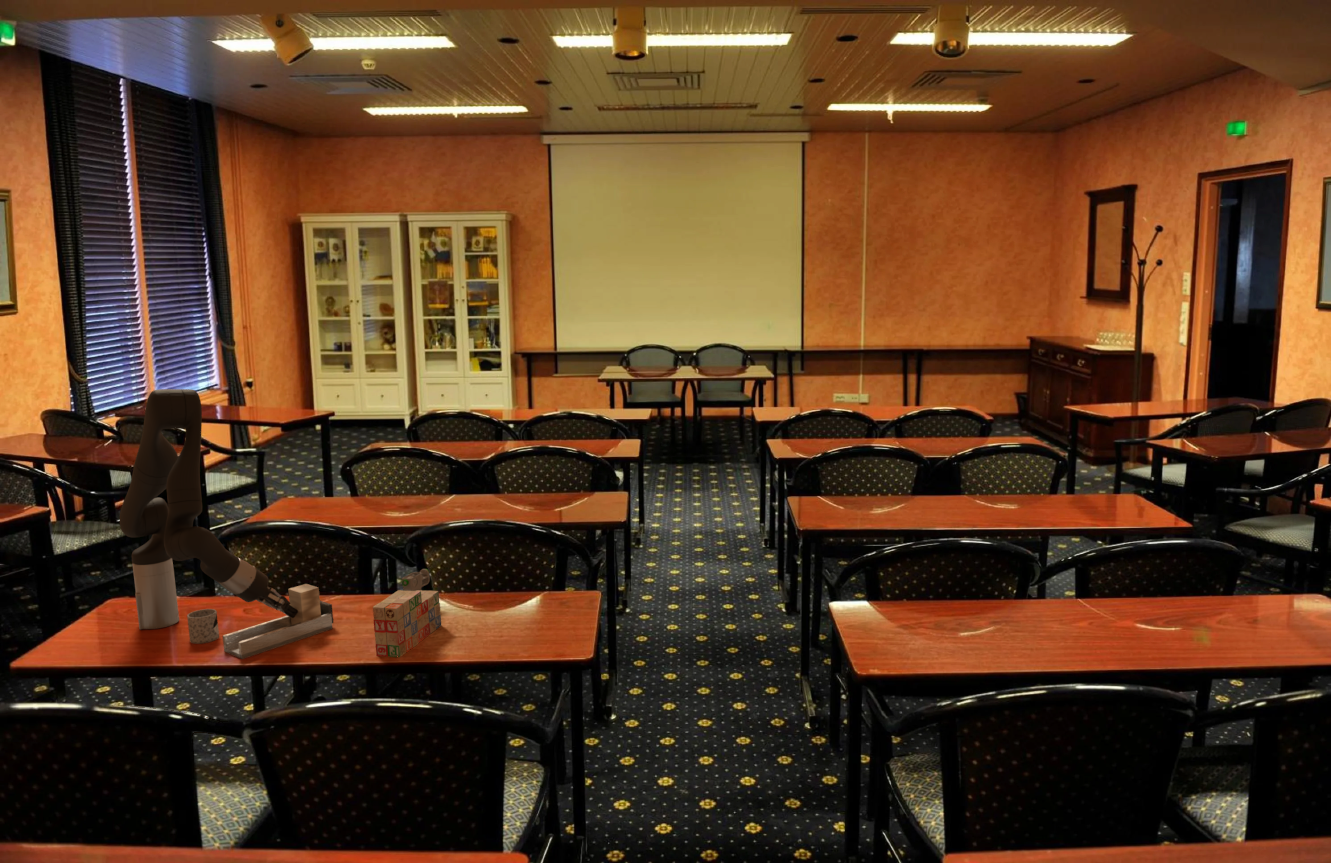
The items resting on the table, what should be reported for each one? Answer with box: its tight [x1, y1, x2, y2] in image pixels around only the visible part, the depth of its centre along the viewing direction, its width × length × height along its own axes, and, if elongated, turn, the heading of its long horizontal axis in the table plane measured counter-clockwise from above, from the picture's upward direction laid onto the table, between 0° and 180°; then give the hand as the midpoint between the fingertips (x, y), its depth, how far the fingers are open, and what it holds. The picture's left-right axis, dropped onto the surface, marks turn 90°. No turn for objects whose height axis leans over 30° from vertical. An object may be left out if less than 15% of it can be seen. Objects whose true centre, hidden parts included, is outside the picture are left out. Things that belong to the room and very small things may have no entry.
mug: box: [186, 608, 220, 645], centre depth 244 cm, size 10×7×7 cm, turn 37°
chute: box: [222, 600, 334, 660], centre depth 240 cm, size 25×8×6 cm, turn 141°
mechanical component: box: [401, 568, 431, 591], centre depth 259 cm, size 3×10×10 cm, turn 161°
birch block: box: [288, 583, 321, 625], centre depth 245 cm, size 5×6×10 cm
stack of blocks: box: [372, 589, 442, 658], centre depth 237 cm, size 21×6×12 cm, turn 166°
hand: (294, 614), depth 243 cm, fingers closed
